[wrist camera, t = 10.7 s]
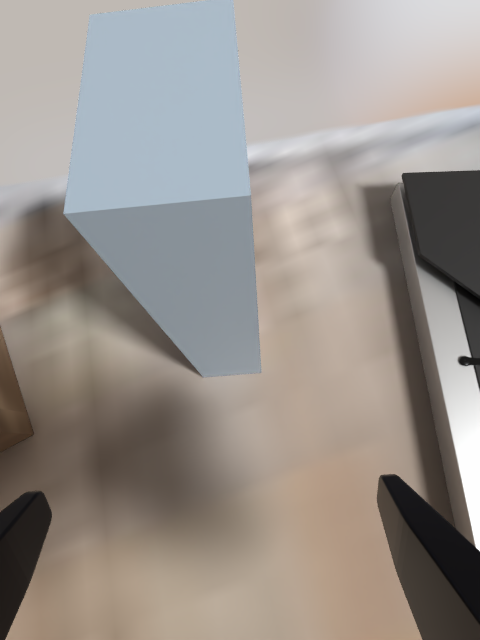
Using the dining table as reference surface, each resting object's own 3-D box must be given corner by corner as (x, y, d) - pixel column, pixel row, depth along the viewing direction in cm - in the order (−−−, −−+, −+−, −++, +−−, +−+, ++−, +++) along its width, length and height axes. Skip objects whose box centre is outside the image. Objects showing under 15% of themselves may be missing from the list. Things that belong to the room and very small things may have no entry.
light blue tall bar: (261, 372, 18) (250, 195, 6) (203, 377, 18) (63, 214, 6) (253, 284, 20) (232, -3, 7) (200, 289, 20) (90, 14, 7)
